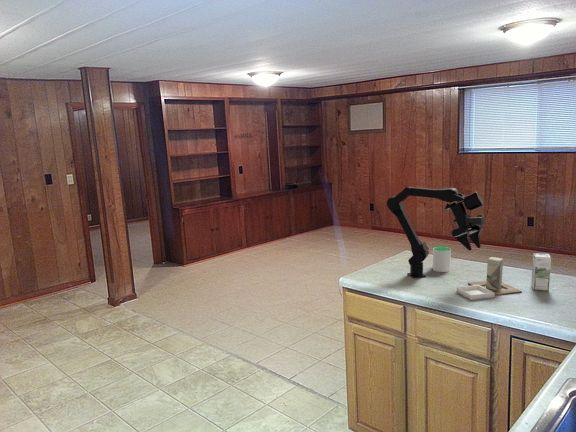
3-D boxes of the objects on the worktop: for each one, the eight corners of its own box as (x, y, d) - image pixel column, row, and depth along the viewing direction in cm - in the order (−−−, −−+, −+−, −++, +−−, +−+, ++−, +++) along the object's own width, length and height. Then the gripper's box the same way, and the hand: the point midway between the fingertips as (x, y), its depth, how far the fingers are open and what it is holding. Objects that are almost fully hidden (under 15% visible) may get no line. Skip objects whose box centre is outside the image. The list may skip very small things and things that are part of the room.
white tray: (456, 292, 190) (456, 287, 190) (479, 289, 192) (479, 284, 192) (470, 300, 181) (471, 295, 180) (494, 297, 182) (494, 292, 182)
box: (485, 288, 194) (486, 258, 192) (489, 285, 197) (490, 256, 195) (498, 290, 190) (499, 260, 188) (502, 288, 193) (503, 258, 191)
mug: (428, 265, 231) (429, 245, 229) (445, 265, 230) (445, 244, 228) (435, 272, 219) (435, 251, 217) (452, 272, 218) (453, 250, 217)
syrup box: (546, 287, 193) (548, 253, 190) (549, 291, 187) (551, 256, 185) (531, 286, 195) (532, 252, 192) (533, 290, 189) (535, 256, 187)
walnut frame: (467, 284, 200) (467, 282, 200) (496, 281, 203) (496, 279, 202) (490, 296, 185) (490, 294, 184) (521, 292, 187) (521, 291, 187)
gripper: (468, 209, 188) (483, 244, 185) (486, 206, 202) (501, 240, 198) (444, 219, 196) (458, 254, 192) (463, 216, 209) (477, 249, 206)
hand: (475, 249), depth 197 cm, fingers open, 9 cm apart
